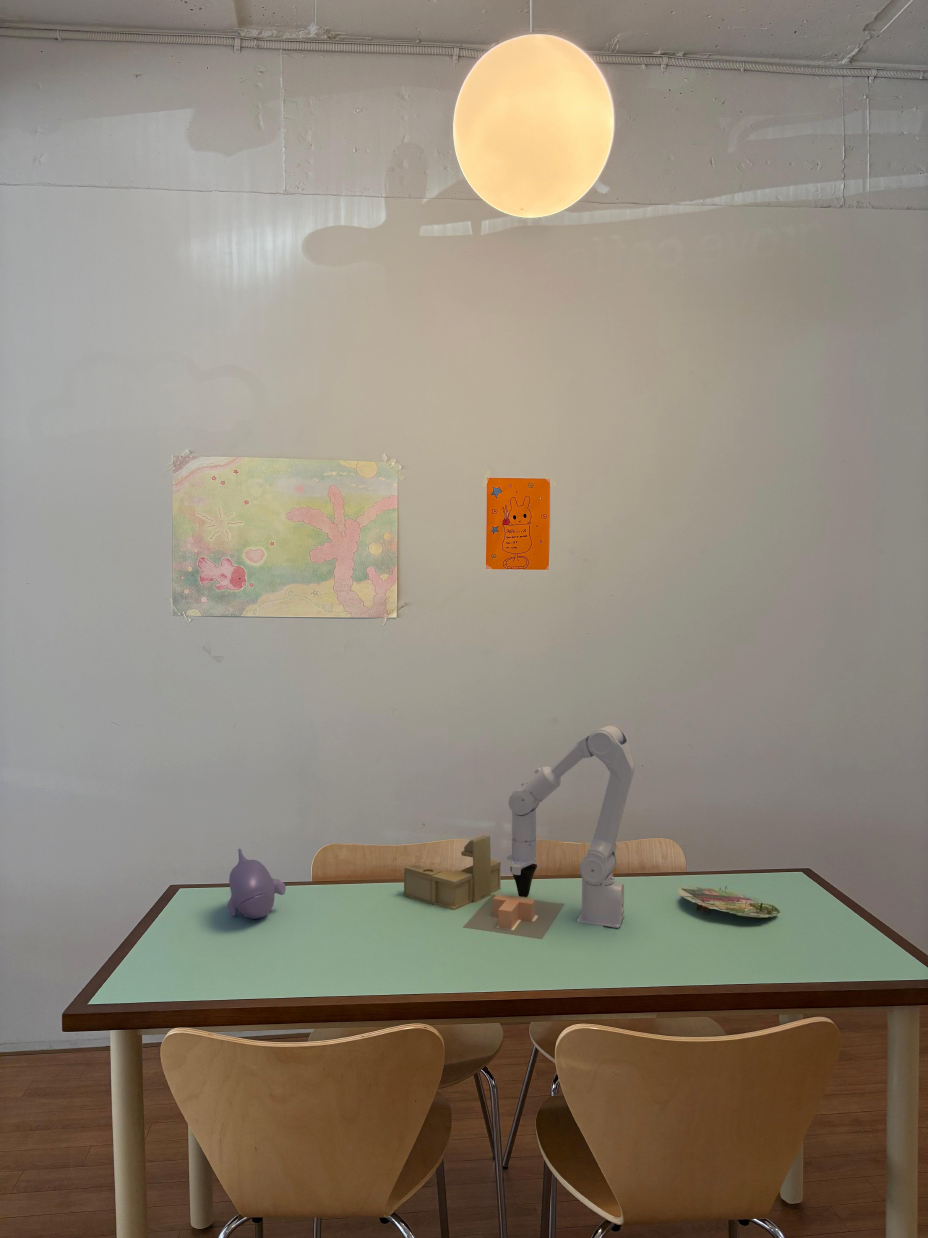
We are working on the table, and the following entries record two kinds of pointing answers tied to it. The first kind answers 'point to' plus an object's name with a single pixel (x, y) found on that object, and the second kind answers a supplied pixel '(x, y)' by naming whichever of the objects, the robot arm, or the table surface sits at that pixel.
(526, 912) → the t block
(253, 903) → the toy whale
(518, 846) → the robot arm
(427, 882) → the toy kitchen set
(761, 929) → the table surface
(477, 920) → the mat
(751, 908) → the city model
